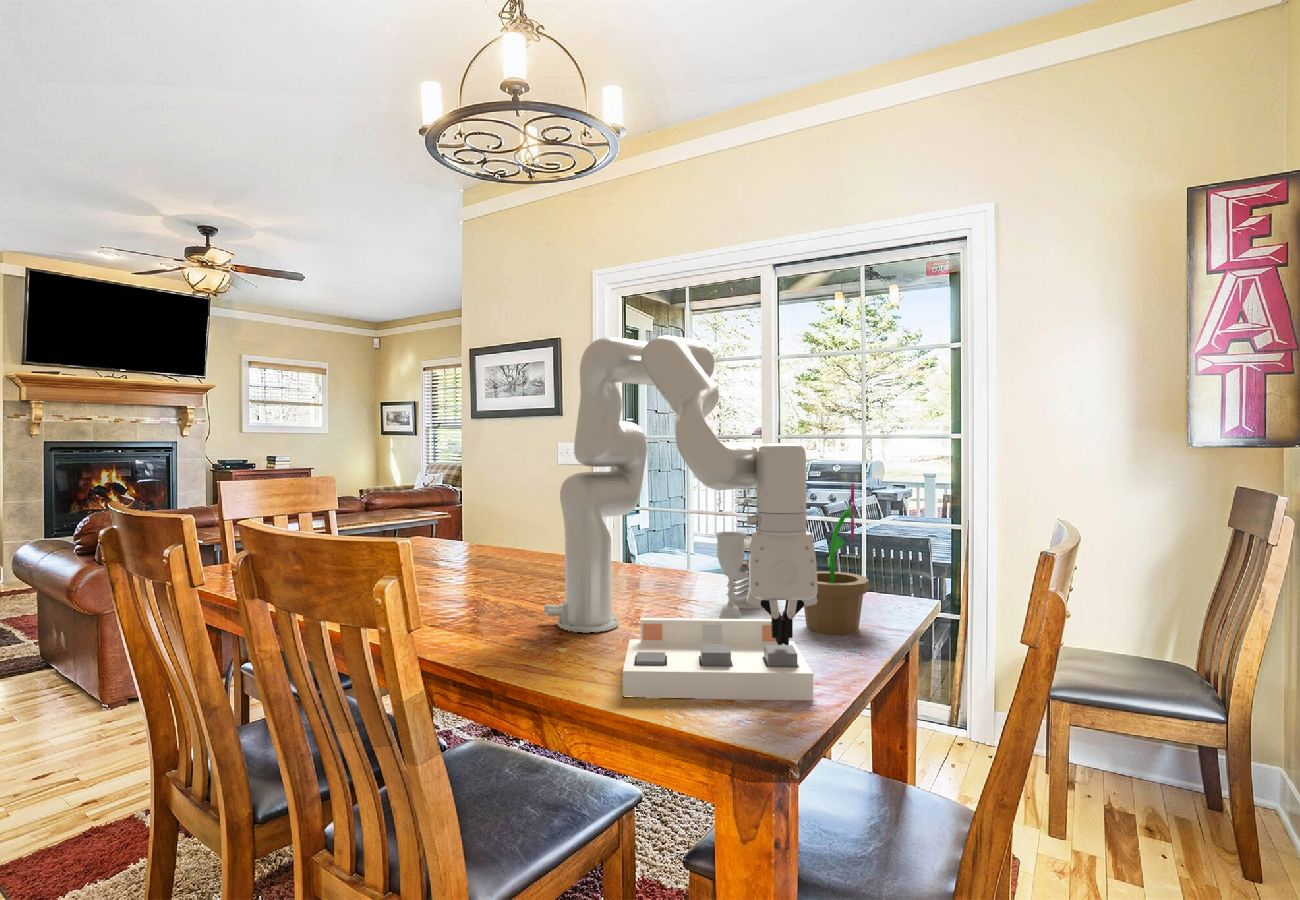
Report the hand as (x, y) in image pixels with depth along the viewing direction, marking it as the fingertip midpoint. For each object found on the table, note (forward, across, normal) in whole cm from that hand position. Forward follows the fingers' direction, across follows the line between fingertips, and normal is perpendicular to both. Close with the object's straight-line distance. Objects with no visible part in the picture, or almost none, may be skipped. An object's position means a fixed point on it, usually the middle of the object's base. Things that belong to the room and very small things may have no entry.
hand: (782, 642), depth 103 cm
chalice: (+7, -4, +42) cm, 43 cm away
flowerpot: (+7, +16, +34) cm, 38 cm away
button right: (+4, 0, 0) cm, 4 cm away
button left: (+5, -20, 0) cm, 21 cm away
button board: (+7, -10, +3) cm, 13 cm away
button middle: (+4, -10, 0) cm, 11 cm away
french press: (+7, +2, +54) cm, 55 cm away
